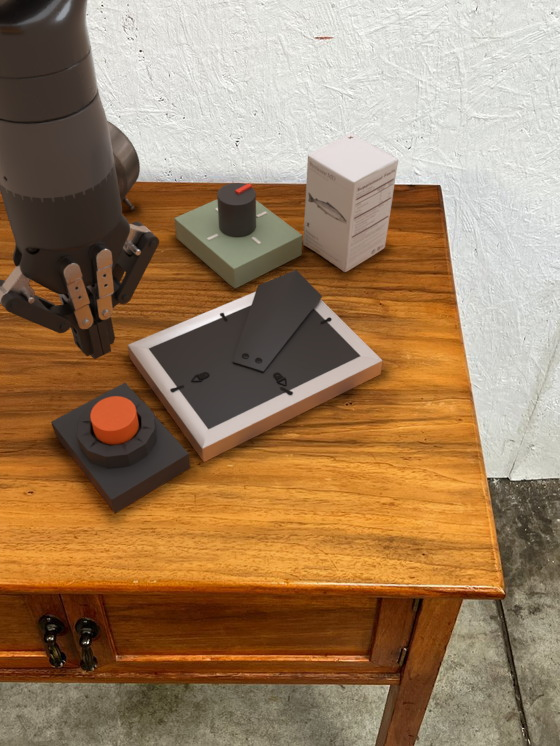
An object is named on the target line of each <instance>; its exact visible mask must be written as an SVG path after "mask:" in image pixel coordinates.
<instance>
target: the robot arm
mask: <svg viewBox="0 0 560 746" xmlns="http://www.w3.org/2000/svg"><path fill="white" fill-rule="evenodd" d="M87 8H88V0H0V194H1V198H2V202H3V206H4V209H5V212H6V215H7V219H8V222H9V225H10V226H9V227H10V229H11V232H12V235H13V239H14V242H15V243H14V250H13V254H12V261H13V264H14V266H15V267H14V269H13V270H12V271H11V273H10V274H9V275H8V277H6V280H5V279H0V304H1V305H2V307H3V308H4V309H5V310H6V311H7V312H8V313H11V314H13V315H15V316H17V317H20V318H21V319H22V318H23V319H25V320H27V321H29V322H31V323H34V324H37V325H38V326H41V327H43V328H46V329H48V330H50V331H53V332H55V333H57V334H65V333H66V332H68V331H69V330H71V333H72V337H73V342H74V344H75V345H76V346H77V347H78V349H79V350H80V351H81V352H82V353H83V355H85V356H86V357H89V356H91V358H92V359H93V360H97V359H99V358H101V357H103V356H105V355H107V354H109V353H110V352H112V347H111V345H113V344H115V340H116V335H115V330H114V325H113V321H112V316H113V313H114V308H115V307H117V306H118V304H120V305H126V304H128V303H129V302H130V301H131V300H132V297H133V296H134V294H135V292H136V290H137V288H138V286H139V284H140V282H141V280H142V278H143V276H144V274H145V272H146V270H147V268H148V266H149V264H150V263H151V260H152V258H153V256H154V254H155V252H156V250H157V249H158V247H159V244H160V239H159V237H157V236H156V234H154V232H152V231H151V230H150V229H149V228H148V227H147V226H146V225H144V224H143V223H142V222H141V221H138V220H137V221H133V222H132V223H130V222H129V220H128V219H127V218H126V216H124V214H123V205H122V201H121V199H120V193H119V187H118V181H117V175H116V169H115V163H114V157H113V151H112V145H111V138H110V132H109V127H108V122H107V121H108V118H107V114H106V110H105V107H104V105H103V102H102V99H101V95H100V90H99V87H98V85H99V84H98V80H97V73H96V68H95V61H94V56H93V50H92V45H91V40H90V35H89V31H88V26H87ZM31 281H33V282H34V283H36V284H37V285H40V286H42V287H44V288H45V289H47V290H49V291H51V292H52V293H55V294H58V297H59V299H60V302H61V304H57V305H56V304H55V303H54V302H52V301H50V300H47V299H45V298H43V297H41V296H39V295H37V294H36V292H35V289H34V288H33V287H32V286H31V284H30V283H31Z"/></svg>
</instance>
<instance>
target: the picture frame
mask: <svg viewBox="0 0 560 746" xmlns="http://www.w3.org/2000/svg"><path fill="white" fill-rule="evenodd" d="M322 298H323V295H321V294H320V292H319V291H318V290H317V289H316V288H315V287H314V286H313V285H312V284H311V283H310V282H309V281H308V280H307V279H306V278H305V277H304V275H302V273H301V272H299V271H298V270H297V269H294V270H291V271H289V272H286V273H285V274H282V275H280V276H277V277H274V278H273V279H271V280H268V281H266V282H262V283H260V284H258V285H257V287H256V289H255V291H254V292H252V293H249V294H247V295H244V296H242V297H239V298H237V299H235V300H232V301H230V302H227V303H225V304H223V305H220V306H217V307H215V308H213V309H211V310H208V311H206V312H204V313H203V312H202V313H201V314H198V315H196V316H194V317H191V318H189V319H187V320H184V321H182V322H179V323H176V324H174V325H172V326H170V327H168V328H165V329H163V330H160V331H157V332H156V333H155V332H154V333H153V334H150V335H148V336H146V337H145V336H144V337H143V338H140V339H138V340H136V341H134V342H131V343H128V344H127V349H128V355H129V360H131V362H132V363H133V365H134V366H135V368H136V369H137V370H138V372H139V373H140V375H141V376H142V377H143V379H144V380H145V382H146V383H147V385H148V386H149V387H150V389H151V390H152V391H153V394H154V395H155V396H156V398H158V400H159V401H160V403H161V404H162V405H163V407H164V408H165V410H166V412H167V413H168V414H169V416H170V417H171V418H172V420H173V421H174V423H175V424H176V425H177V427H178V428H179V430H180V431H181V432H182V434H183V435H184V437H185V438H186V439H187V441H188V442H189V444H190V445H191V446H192V448H193V450H194V451H195V452H196V453H197V455H198V456H199V458H200V459H201V461H202V462H203V463H205V462H207V461H210V460H211V459H213V458H215V457H218V456H220V455H221V454H223V453H226V452H228V451H229V450H231V449H234V448H236V447H237V446H239V445H241V444H244V443H246V442H248V441H249V440H252V439H253V438H256V437H258V436H259V435H260V436H261V434H263V433H266V432H267V431H269V430H271V429H274V428H276V427H278V426H281V424H284V423H286V422H287V421H290V420H292V419H294V418H296V417H298V416H300V415H301V414H304V413H306V412H307V411H310V410H312V409H314V408H315V407H318V406H320V405H322V404H323V403H326V402H328V401H330V400H332V399H334V398H336V397H337V396H340V395H342V394H344V393H346V392H348V391H350V390H353V389H354V388H356V387H358V386H360V385H362V384H364V383H366V382H368V381H371V380H372V379H373V378H376V377H379V376H380V375H381V373H382V368H383V361H384V360H383V359H382V358H381V357H380V356H379V355H378V354H377V353H376V352H375V351H374V350H373V349H372V348H371V347H370V346H369V345H368V344H367V343H366V342H365V341H364V340H363V339H362V338H361V337H360V336H359V335H358V334H357V333H355V331H353V329H352V328H350V327H349V326H348V324H347V323H345V321H344V320H343V319H342V318H341V317H339V315H337V313H335V312H334V311H333V309H331V308H330V307H329V306H328V304H326V303H325V301H323V300H322Z"/></svg>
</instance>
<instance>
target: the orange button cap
mask: <svg viewBox="0 0 560 746" xmlns="http://www.w3.org/2000/svg"><path fill="white" fill-rule="evenodd" d="M90 418H91V422H92V426H93V430H94V433H95V436H96V437H97V439H98V440H99V441H101V442H103V443H105V444H108V445H119V444H123V443H125V442H127V441H129V440H131V439H132V438H133V437H134V436H135V435H136V433H137V431H138V428H139V422H138V417H137V412H136V408H135V405H134V404H133V403H132V402H131V401H130V400H129V399H127V398H124V397H119V396H113V397H108V398H105V399H103V400H101V401H99V402H98V403H97V404H96V405H95V406H94V407H93V409H92V411H91V414H90Z"/></svg>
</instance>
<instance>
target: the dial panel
mask: <svg viewBox="0 0 560 746" xmlns="http://www.w3.org/2000/svg"><path fill="white" fill-rule="evenodd" d="M173 220H174V229H175V230H174V231H175V238H176V239H177V240H178V241H179V242H180V243H182V244H183V245H184V246H185V247H186V248H187V249H188V250H189V251H191V252H192V254H194V255H195V256H197V258H199V260H201V262H203V263H204V264H205V265H207V267H209V268H210V269H211V270H212V271H213V272H215V273H216V274H217V275H218V276H219V277H220V278H221V279H223V281H225V283H227V284H228V285H229V286H231V287H232V288H233V289H234V290H236V289H237V288H239V287H242V286H243V285H246V284H247V283H249V282H252V281H254V280H255V279H258V278H260V277H261V276H263V275H265V274H268V273H269V272H270V271H273V270H276V269H277V268H279V267H281V266H283V265H285V264H288V263H289V262H291V261H293V260H295V259H297V258H299V257H300V256H302V254H303V234H301V232H299V231H298V230H297V229H295V228H294V227H292V226H291V225H290V224H288V223H287V222H286V221H284V220H283V219H282V218H280V217H279V216H278V215H276V214H275V213H274V212H273V211H271V210H270V209H268V208H267V207H266V206H264V205H263V204H262V203H261V202H259V201H258V200H257V199H256V228H255V230H254V231H253V232H252V233H251V234H249V235H247V236H243V237H231V236H228V235H225V234H224V233H222V232H221V230H220V229H219V219H218V201H217V199H214V200H212V201H210V202H208V203H205V204H203V205H201V206H198V207H196V208H194V209H192V210H190V211H188V212H185V213H183V214H181V215H178V216H176V217H174V219H173Z"/></svg>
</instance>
